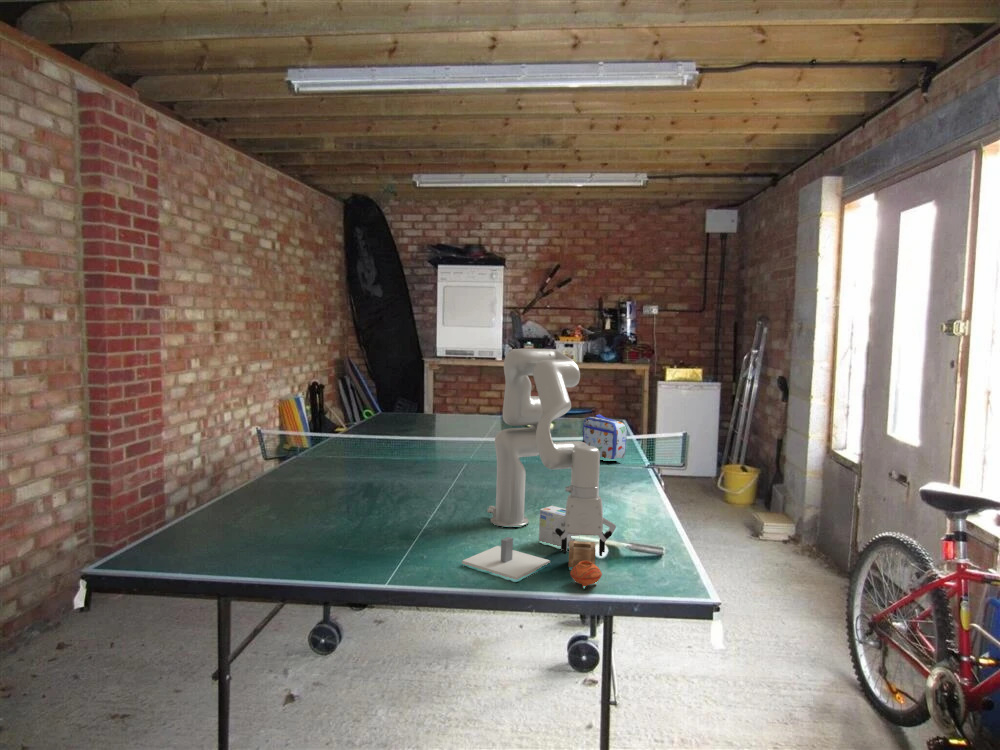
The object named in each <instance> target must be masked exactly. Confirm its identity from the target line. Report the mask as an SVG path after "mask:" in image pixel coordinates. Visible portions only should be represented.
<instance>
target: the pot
mask: <svg viewBox="0 0 1000 750" xmlns="http://www.w3.org/2000/svg"><path fill="white" fill-rule="evenodd" d="M569 574H570V577H571V578H572V579H573V580H574V582H575V581H576V582H578V583H577V584H580V585H581V587H583V586H587V587H588V586H590V584H591V585H593V584H594V583H595V582H597V581H598V582H599V580H600V579H601V577H603V576H602V575H603V574H602V571H601V570H600V568H599V567H598V566H597V565H596V564H595V565H594V564H593V563H592V562H590V561H580V562H579V563H578V564H577V565H576V566H574V567H573V568H572V570H571V571H569ZM576 582H575V583H576Z"/></svg>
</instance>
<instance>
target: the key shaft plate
mask: <svg viewBox="0 0 1000 750" xmlns="http://www.w3.org/2000/svg"><path fill="white" fill-rule="evenodd" d="M513 546H514V538H513V537H509V536H507V537H505V538H503V539H500V545H496V546H494V547H492V548H488V549H486V550H484V551H481V552H479V553H477V554H475V555H472V556H469V557H468V558H464V559H463V560H462V561H461V565H462V564H465V565H469V566H472V567H475V568H478V569H482V570H486V571H489V572H492V573H495V574H499V575H502V576H505V577H509V578H513V579H516V580H517V579H519V578H521V577H523V576H526V575H528V574H530V573H532V572H534V571H536V570H537V569H539V568H541V567H542V566H544V565H547V564H548V563H550V564H551V560H549V559H546V558H543V557H540V556H535V555H532V554H529V553H525V552H521V551H518V550H514V549H513V548H514V547H513Z"/></svg>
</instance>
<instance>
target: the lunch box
mask: <svg viewBox="0 0 1000 750" xmlns="http://www.w3.org/2000/svg"><path fill="white" fill-rule="evenodd" d="M582 425H583V426H582V431H581V432H582V441H581V442H584V443H586V444H587V445H588V446H593V447H596V448H598V450H599V452H600V457H604V458H609V459H616V458H624V459H625V457H626V448H627V447H626V446H627V436H628V435H627V434H628V430H627V427H626V426H627V425H625V423H623V422H621V421H618V420H615V419H612V418H608V417H605V416H604V415H602V414H596V415H595V416H588V417H586V418H585V419H584V420H583V423H582Z"/></svg>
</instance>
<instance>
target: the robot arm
mask: <svg viewBox="0 0 1000 750" xmlns="http://www.w3.org/2000/svg"><path fill="white" fill-rule="evenodd" d="M504 357H505V358H504V361H503V372H504V378H505V384H504V385H505V386H504V394H503V395H504V396H503V406H502V419H503V423H505V424H506V425H509V426H512V427H513V426H515V427H516V426H517V427H516V428H515V427H514V428H512V427H510V428H505V429H501V430H499V432H497V433H496V434H495V438H494V449H495V454H496V455H495V456H496V486H495V487H496V488H495V489H496V490H495V493H496V495H495V506H494V505H489V506H488V508H487V510H486V512H487V513H489V514H492V517H491V518H490V524H492V523H493V524H495V525H498V526H509V527H510V526H511V527H513V526H522V525H525V524H527V523H528V522H529V523H530V521H529V519H528V517H526V516H525V502H526V501H525V500H526V498H525V496H526V473H527V472H526V469H525V466H524V464H523V463H522V461H521V460H520V458H525V457H526V458H527V457H536V456H539V458H540V460H541V463H542V464H543V466H544V467H545V468H547V469H548V470H563V469H565V470H567V469H571V470H570V472H571V473H570V485H568V486H565V492H566V493H567V492H568V493H569V494H568V496H567V500H566V505H565V509H566V513H565V516H563V517H560V518H558V519H556V520H554V521H552V526H553V528H554V529H555V532H556V533H557V534H558V535H559V536H560V537H561V539H562V545H561V550H560V551H562V550H564V551H563V555H567V552H568V551H567V536H568V535H569V534H575V535H579V536H594V537H595V536H598V537H599V539H598V540H599V543H598V546H599V548H598V555H599V556H600V557H603V553H605V552H606V549H605V548H606V542H607V540H608V539H609V538H611V537H612V535H613V533H614V532H615V530H616V528H617V526H616V524H615V523H613V522H612V521H610V520H609V519H606V518H605V517H604V515H603V514H604V510H603V501H602V498H601V496H599V494H600V493H599V492H600V491H599V490H600V463H601V462H600V452H599V450H598V448H596V447H593V446H588V445H587V444H586V443H584V442H582V441H580V440H571V441H569V440H568V441H554V440H553V437H552V432H551V425H552V422H553V421H555V420H556V419H558V418H561V417H562V416H564V415H566V414H567V413H568V412H569V411H571V409H572V402H571V399H570V396H569V393H568V390H567V388H575V387H577V386H578V384H579V382H580V380H581V371H580V369H579V366H578V364H577V363H576V362H575V361H574V360H573V359H572V358H570V357H569V356H567V355H566V354H564V353H563V352H561V351H559V350H558V349H557V350H556V349H553V348H525V347H524V348H514V349H512V350H509V351H508V352H507V353H506V355H505V356H504ZM529 376H532V377H533V380H534V383H535V387H536V391H537V395H534V396H533V395H532V396H531V394H532V382H531V380H530V378H529ZM518 426H519V427H518ZM520 426H529V427H520ZM563 522H565V530H564V531H562V530H561V529H560V528H559V527H558V524H560V523H563ZM529 523H528V524H529ZM493 524H492V525H493ZM495 525H494V526H495ZM498 526H497V527H498ZM604 526H606V527H608V530H607V531H606V532H603V529H604V528H603V527H604ZM566 551H567V552H566Z"/></svg>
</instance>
